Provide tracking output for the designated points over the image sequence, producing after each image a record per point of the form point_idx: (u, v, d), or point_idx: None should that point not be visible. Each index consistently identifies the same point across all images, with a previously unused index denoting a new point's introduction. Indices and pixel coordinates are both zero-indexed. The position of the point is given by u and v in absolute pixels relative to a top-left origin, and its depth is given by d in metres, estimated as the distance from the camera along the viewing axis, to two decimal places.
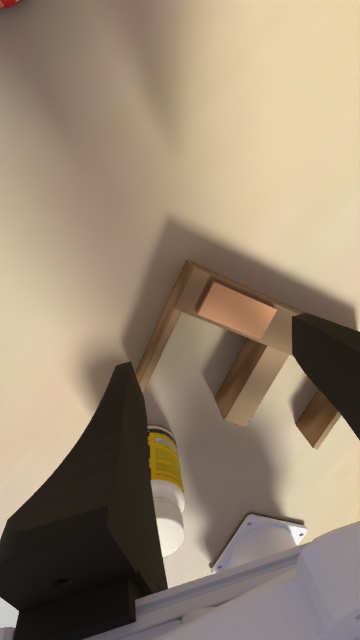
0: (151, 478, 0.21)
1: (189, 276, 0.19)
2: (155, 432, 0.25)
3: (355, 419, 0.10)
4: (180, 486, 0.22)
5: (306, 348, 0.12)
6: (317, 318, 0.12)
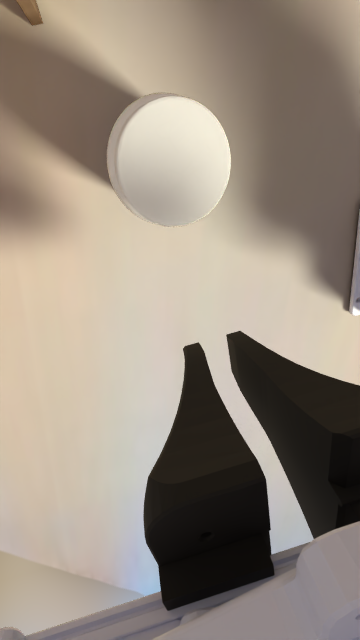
0: (126, 107, 0.11)
1: None
2: None
3: (276, 443, 0.10)
4: None
5: (238, 367, 0.12)
6: (247, 338, 0.12)
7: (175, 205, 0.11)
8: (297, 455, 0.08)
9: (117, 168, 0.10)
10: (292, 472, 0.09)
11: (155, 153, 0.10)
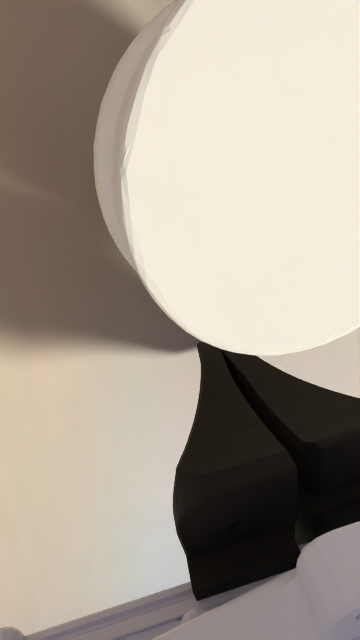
0: (146, 26, 0.04)
1: None
2: None
3: None
4: None
5: None
6: None
7: (292, 305, 0.04)
8: None
9: (122, 206, 0.03)
10: None
11: (260, 150, 0.03)
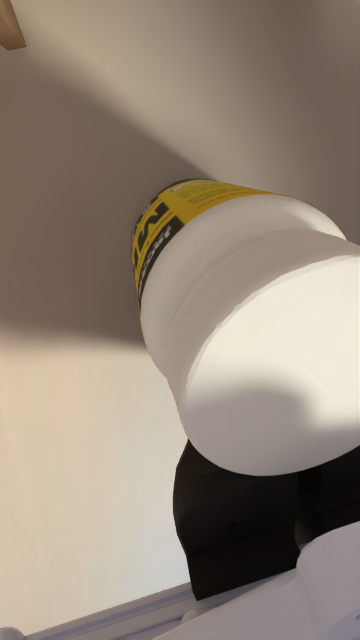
0: (186, 222, 0.05)
1: None
2: (170, 186, 0.09)
3: None
4: None
5: None
6: None
7: (297, 446, 0.05)
8: None
9: (182, 406, 0.04)
10: None
11: (275, 370, 0.04)
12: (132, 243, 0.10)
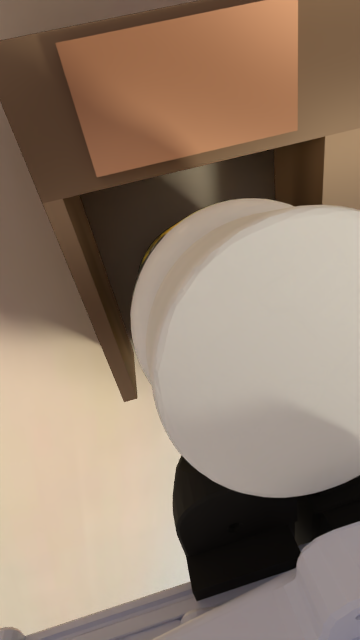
0: (167, 232, 0.06)
1: None
2: None
3: None
4: None
5: None
6: None
7: (307, 452, 0.04)
8: None
9: (156, 394, 0.04)
10: None
11: (255, 346, 0.04)
12: None
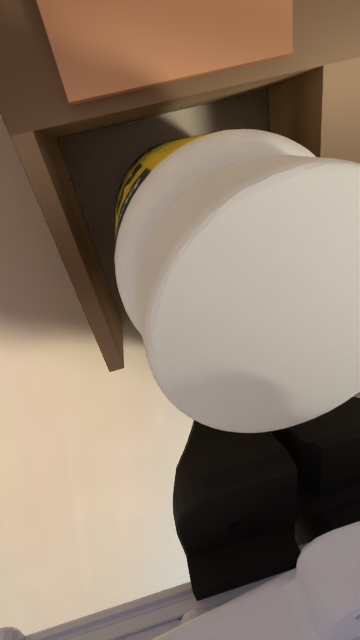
0: (152, 168, 0.05)
1: None
2: (149, 150, 0.09)
3: None
4: None
5: None
6: None
7: (286, 398, 0.04)
8: None
9: (149, 355, 0.04)
10: None
11: (248, 310, 0.04)
12: None
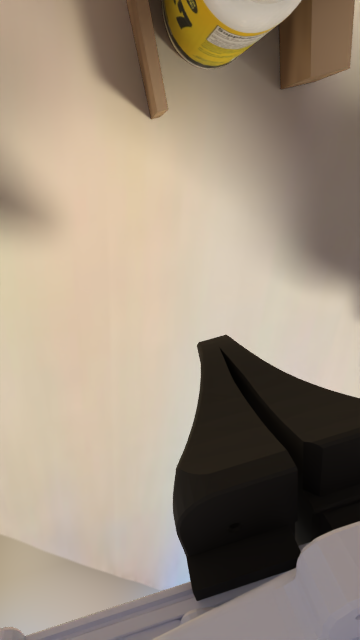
0: None
1: None
2: None
3: None
4: None
5: None
6: (232, 342, 0.11)
7: None
8: None
9: None
10: None
11: None
12: None
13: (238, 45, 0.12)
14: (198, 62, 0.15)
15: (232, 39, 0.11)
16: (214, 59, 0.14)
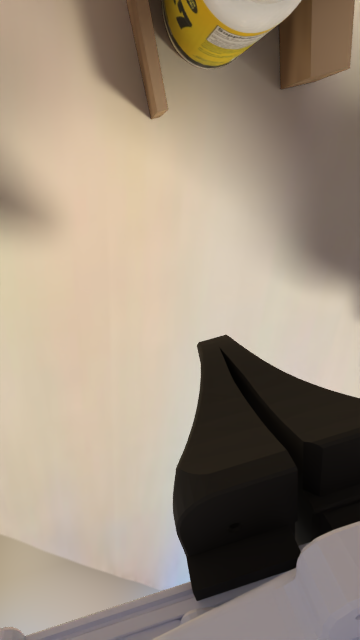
0: None
1: None
2: None
3: None
4: None
5: None
6: (232, 342, 0.11)
7: None
8: None
9: None
10: None
11: None
12: None
13: (238, 45, 0.12)
14: (198, 62, 0.15)
15: (232, 39, 0.11)
16: (214, 59, 0.14)
